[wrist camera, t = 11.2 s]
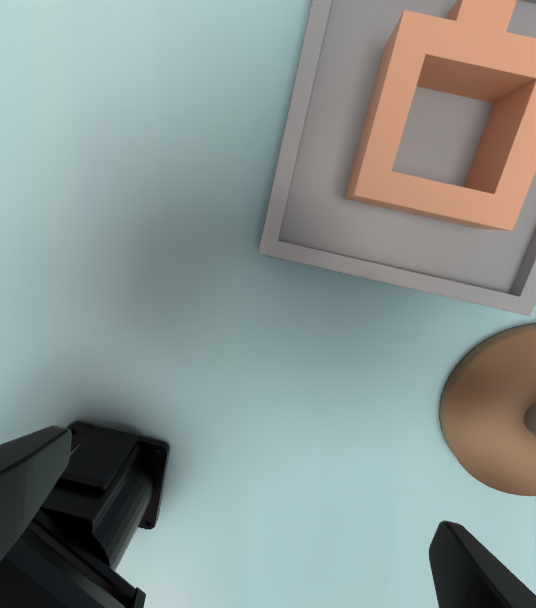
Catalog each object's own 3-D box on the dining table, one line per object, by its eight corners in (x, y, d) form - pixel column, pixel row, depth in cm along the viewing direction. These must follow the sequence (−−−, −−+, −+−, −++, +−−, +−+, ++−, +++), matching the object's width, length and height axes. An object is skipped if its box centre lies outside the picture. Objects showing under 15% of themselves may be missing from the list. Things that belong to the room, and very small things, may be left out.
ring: (476, 228, 17) (512, 231, 14) (344, 198, 17) (353, 195, 15) (547, 33, 15) (606, -10, 12) (396, 0, 15) (420, -50, 12)
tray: (511, 308, 19) (529, 316, 17) (261, 250, 19) (258, 253, 18) (633, 12, 15) (669, -9, 14) (326, -54, 16) (329, -82, 14)
